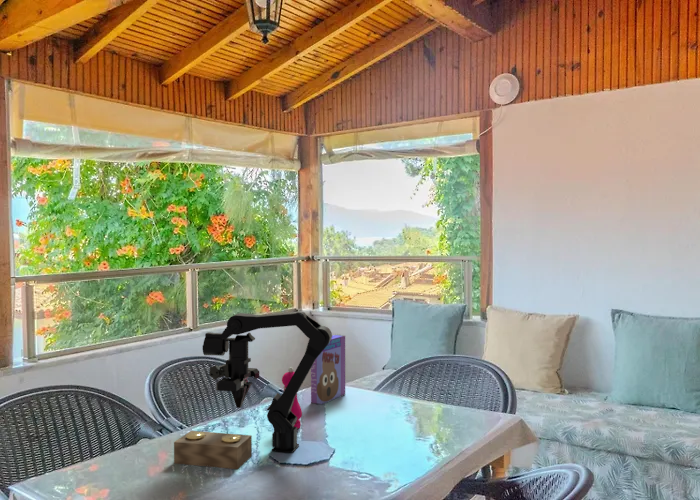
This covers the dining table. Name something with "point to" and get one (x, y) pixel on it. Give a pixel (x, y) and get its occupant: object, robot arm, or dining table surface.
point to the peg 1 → (195, 435)
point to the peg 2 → (231, 438)
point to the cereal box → (329, 372)
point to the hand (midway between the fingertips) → (238, 407)
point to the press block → (213, 451)
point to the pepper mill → (296, 407)
